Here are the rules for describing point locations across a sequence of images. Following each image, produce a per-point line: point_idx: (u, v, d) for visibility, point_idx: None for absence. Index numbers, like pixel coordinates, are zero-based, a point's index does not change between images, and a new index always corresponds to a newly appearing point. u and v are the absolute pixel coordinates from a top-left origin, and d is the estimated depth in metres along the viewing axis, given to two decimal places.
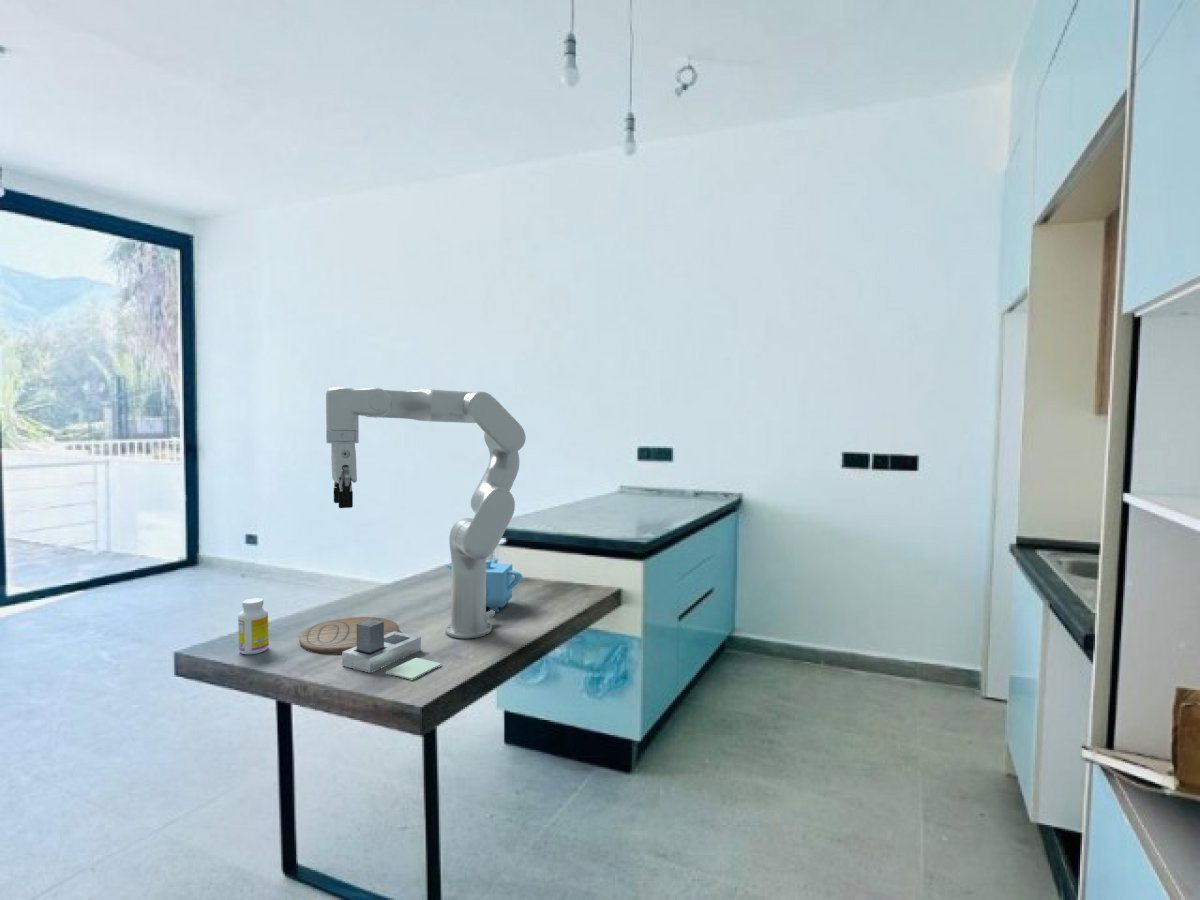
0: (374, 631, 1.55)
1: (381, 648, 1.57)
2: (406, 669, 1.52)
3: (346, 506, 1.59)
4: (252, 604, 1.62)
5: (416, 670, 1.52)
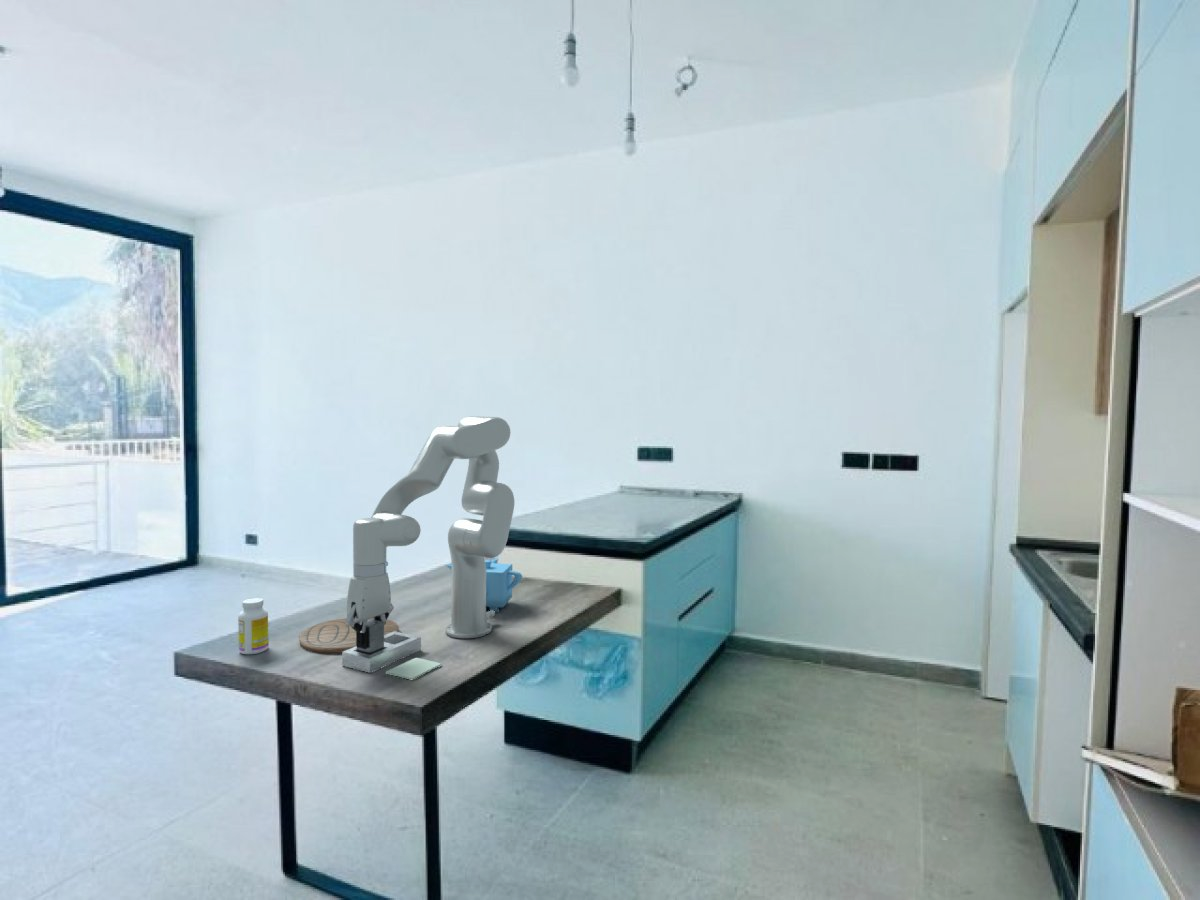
0: (374, 631, 1.55)
1: (381, 648, 1.57)
2: (406, 669, 1.52)
3: None
4: (252, 604, 1.62)
5: (416, 670, 1.52)
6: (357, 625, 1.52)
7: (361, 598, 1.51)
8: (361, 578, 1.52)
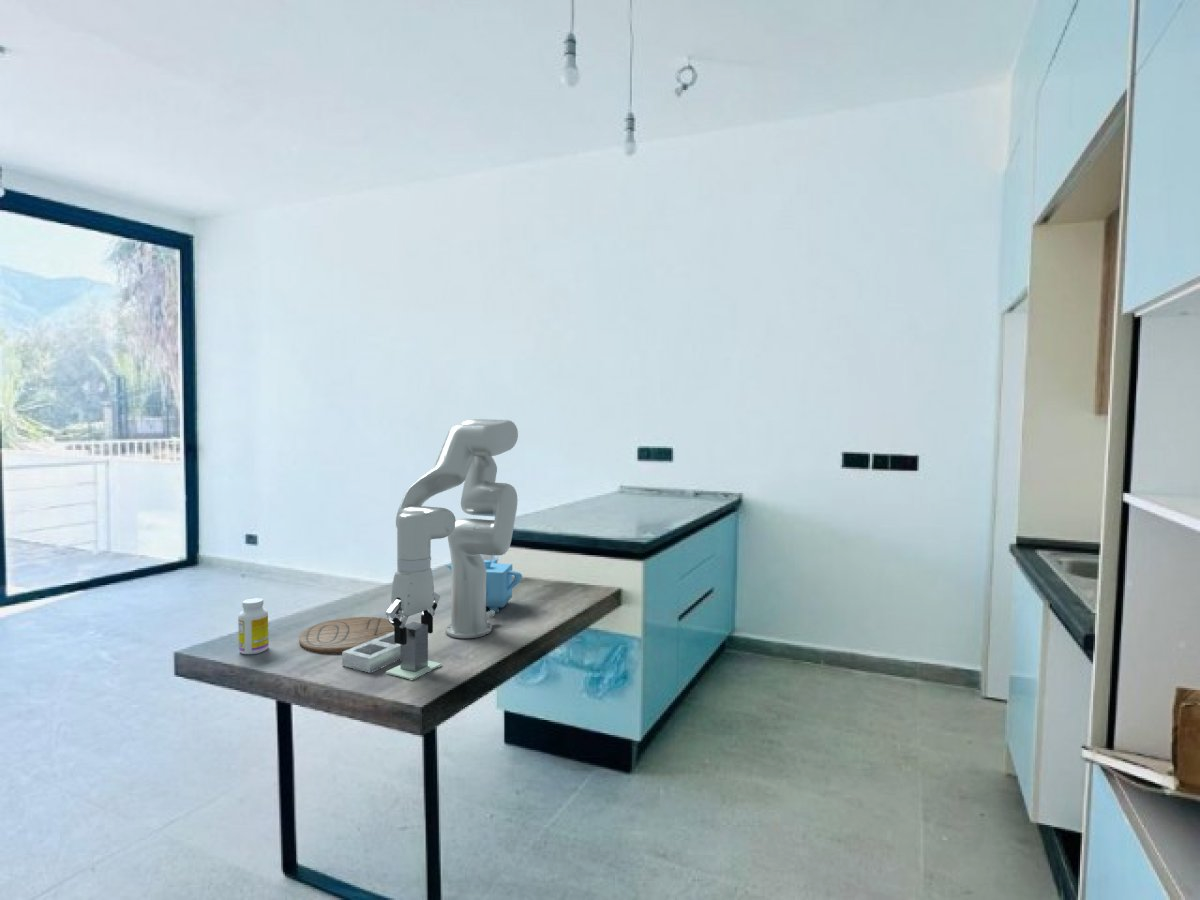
0: (419, 634, 1.51)
1: (425, 651, 1.54)
2: None
3: None
4: (252, 604, 1.62)
5: None
6: (396, 620, 1.46)
7: (406, 593, 1.47)
8: (406, 573, 1.48)
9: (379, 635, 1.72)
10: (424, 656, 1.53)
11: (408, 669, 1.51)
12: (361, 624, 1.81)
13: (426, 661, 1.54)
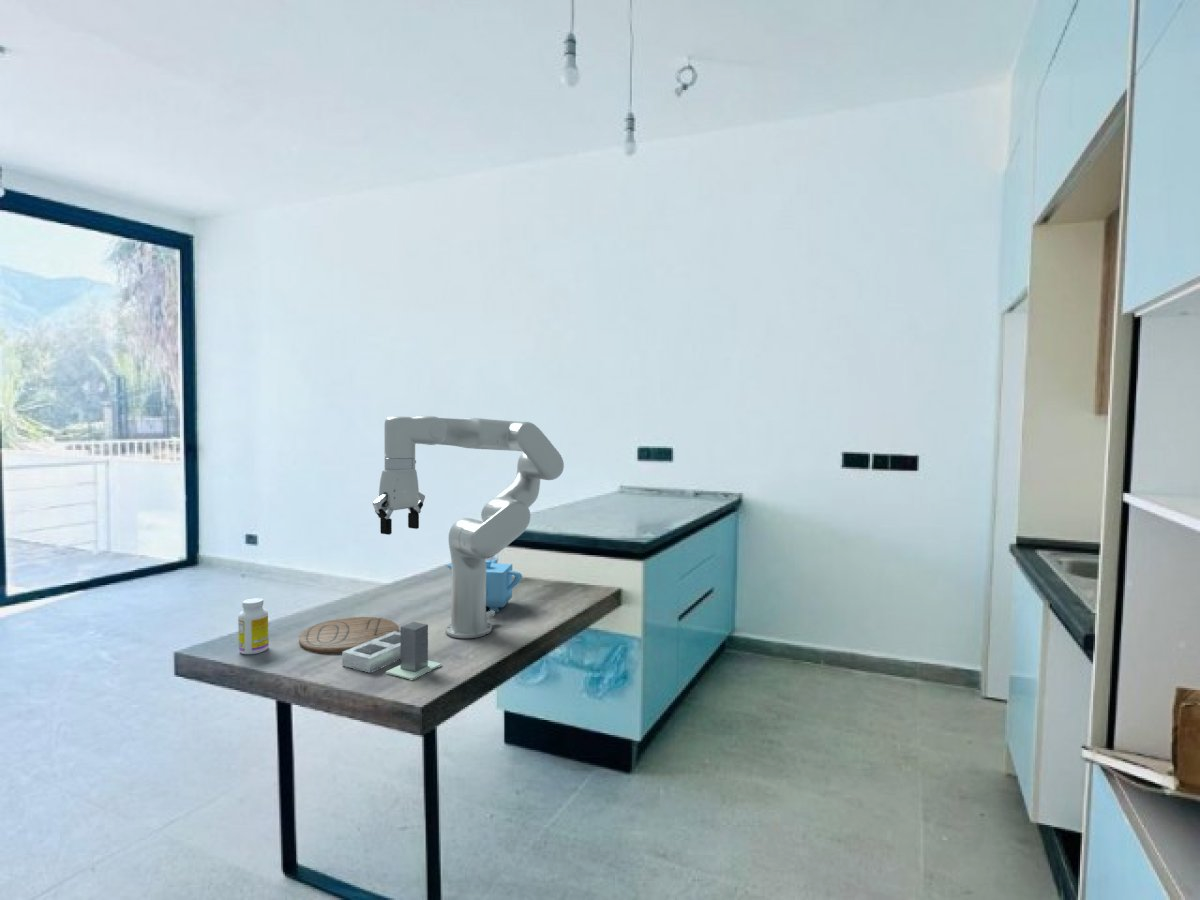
0: (419, 634, 1.51)
1: (425, 651, 1.54)
2: None
3: None
4: (252, 604, 1.62)
5: None
6: (382, 510, 1.60)
7: (392, 488, 1.61)
8: (392, 470, 1.62)
9: (379, 635, 1.72)
10: (424, 656, 1.53)
11: (408, 669, 1.51)
12: (361, 624, 1.81)
13: (426, 661, 1.54)
